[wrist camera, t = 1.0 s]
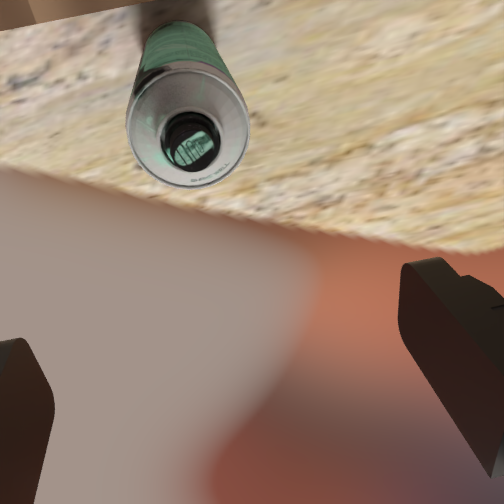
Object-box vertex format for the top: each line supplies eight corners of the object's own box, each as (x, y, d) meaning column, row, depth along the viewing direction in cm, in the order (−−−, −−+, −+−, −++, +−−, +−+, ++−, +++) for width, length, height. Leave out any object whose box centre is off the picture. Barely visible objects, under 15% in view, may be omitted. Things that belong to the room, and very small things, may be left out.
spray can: (131, 77, 35) (97, 184, 18) (160, 4, 33) (152, 49, 16) (198, 110, 37) (223, 234, 20) (229, 43, 35) (287, 120, 18)
